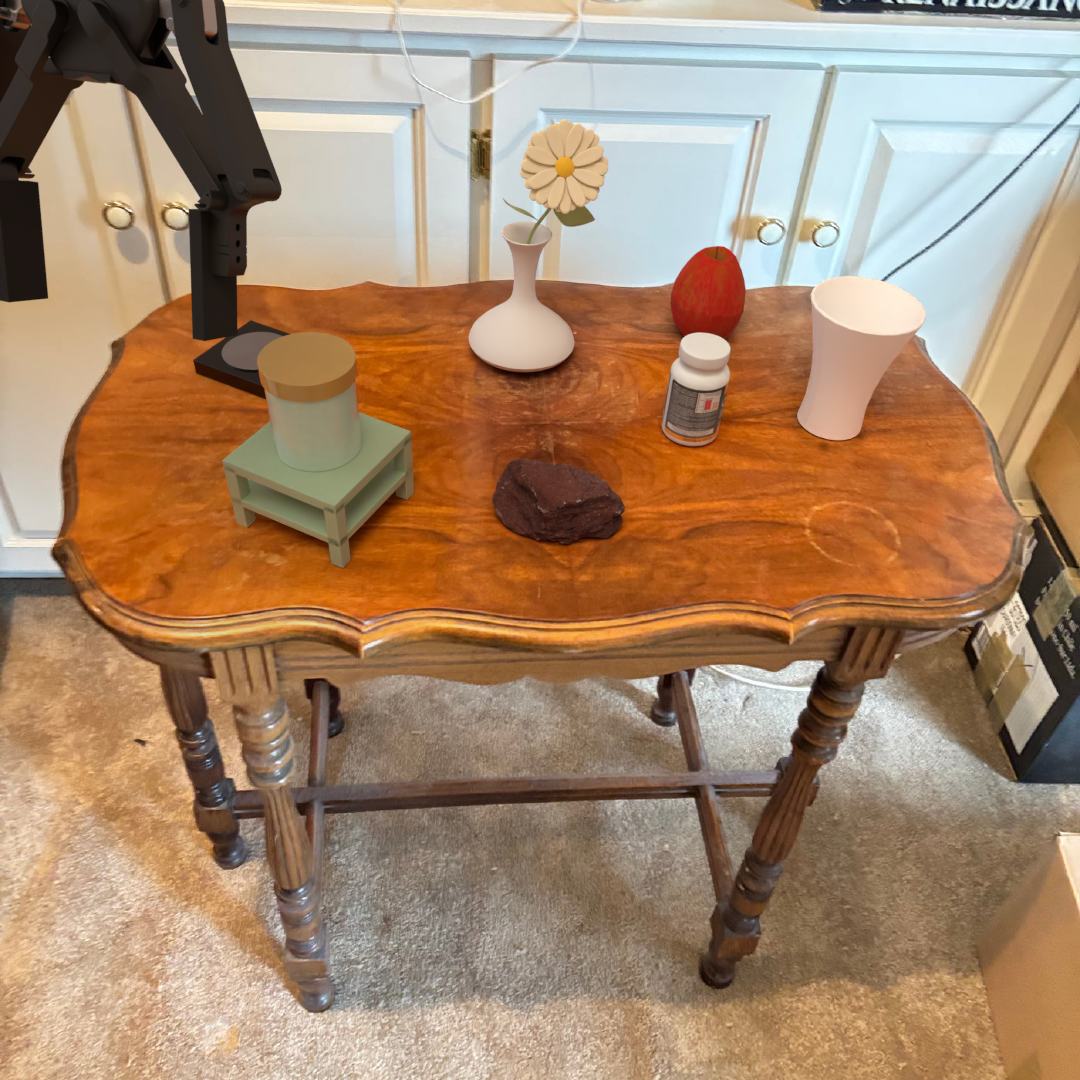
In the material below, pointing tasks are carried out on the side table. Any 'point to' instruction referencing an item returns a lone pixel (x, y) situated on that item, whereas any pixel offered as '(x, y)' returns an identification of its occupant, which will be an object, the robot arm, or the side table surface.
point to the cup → (853, 349)
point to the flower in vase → (562, 185)
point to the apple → (709, 293)
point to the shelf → (321, 485)
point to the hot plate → (238, 358)
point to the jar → (312, 400)
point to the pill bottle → (697, 390)
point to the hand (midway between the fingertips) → (116, 318)
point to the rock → (556, 502)
